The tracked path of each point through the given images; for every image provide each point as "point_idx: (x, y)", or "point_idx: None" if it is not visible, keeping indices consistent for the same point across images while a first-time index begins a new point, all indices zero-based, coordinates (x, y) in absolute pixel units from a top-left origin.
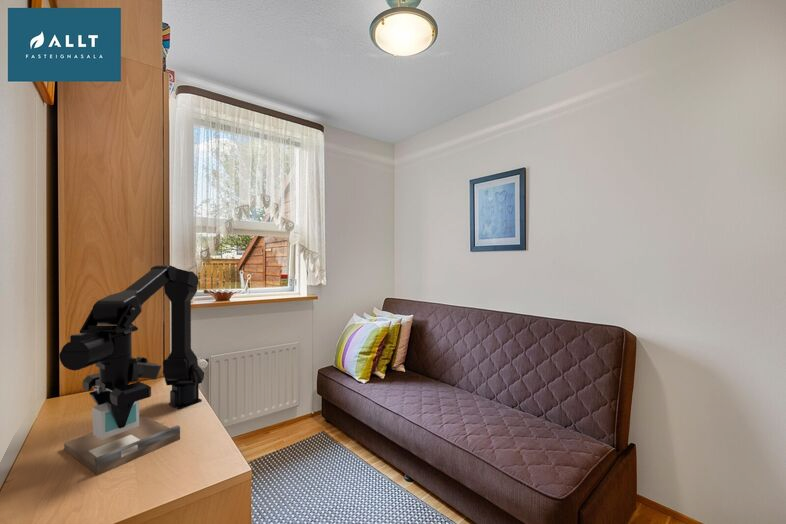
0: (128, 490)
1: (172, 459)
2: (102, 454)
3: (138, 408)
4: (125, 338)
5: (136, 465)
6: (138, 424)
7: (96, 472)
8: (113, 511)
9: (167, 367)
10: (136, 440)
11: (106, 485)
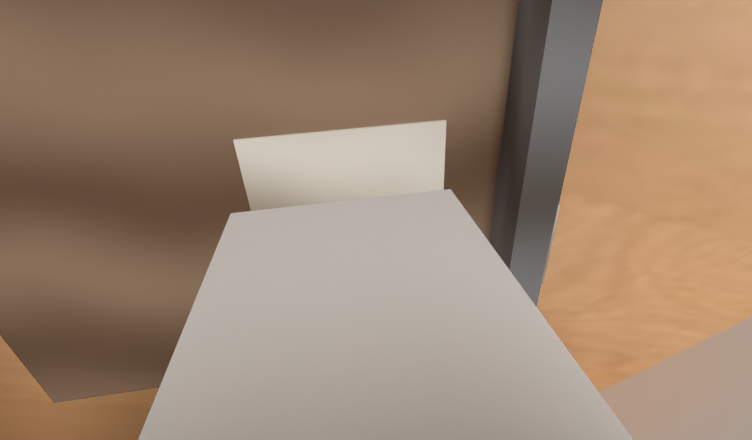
0: (699, 258)
1: (715, 39)
2: None
3: (559, 345)
4: None
5: (565, 189)
6: (454, 202)
7: None
8: (740, 307)
9: None
10: (385, 148)
11: (586, 297)
